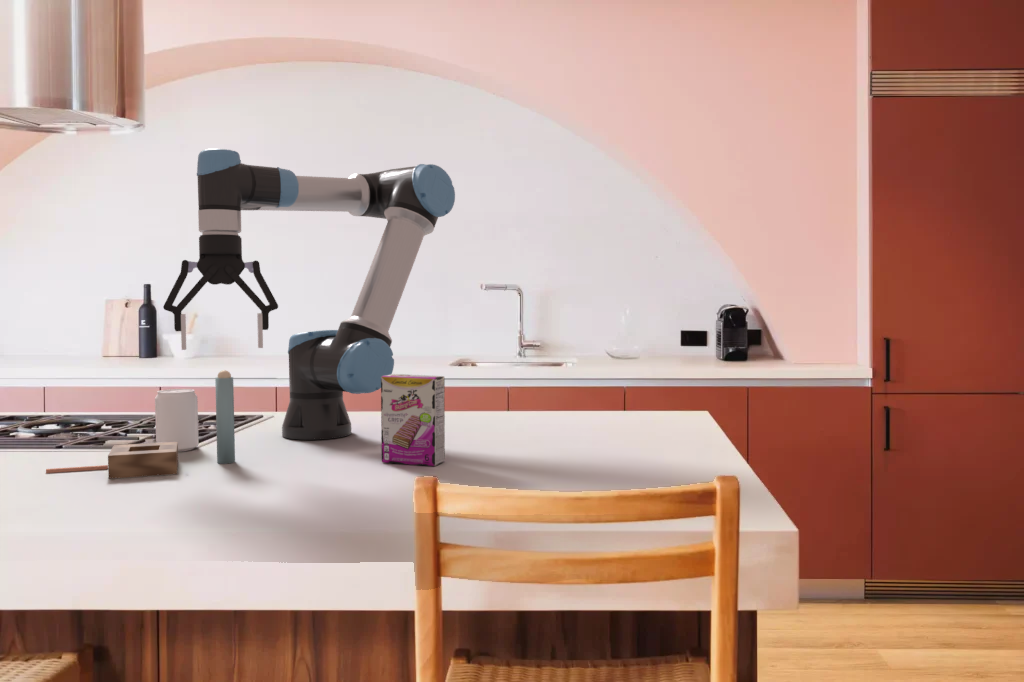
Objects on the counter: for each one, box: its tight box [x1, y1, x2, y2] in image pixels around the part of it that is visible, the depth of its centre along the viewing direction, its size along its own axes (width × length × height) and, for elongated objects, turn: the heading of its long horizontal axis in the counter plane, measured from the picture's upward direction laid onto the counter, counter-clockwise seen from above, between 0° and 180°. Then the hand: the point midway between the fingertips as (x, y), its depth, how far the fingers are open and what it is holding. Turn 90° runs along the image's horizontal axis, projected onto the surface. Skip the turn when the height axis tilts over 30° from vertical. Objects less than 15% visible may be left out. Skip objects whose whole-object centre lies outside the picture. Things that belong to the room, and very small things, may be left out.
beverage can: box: [154, 388, 199, 453], centre depth 181 cm, size 8×8×12 cm
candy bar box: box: [380, 373, 446, 467], centre depth 165 cm, size 11×5×16 cm, turn 71°
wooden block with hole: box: [107, 442, 179, 480], centre depth 160 cm, size 11×11×4 cm
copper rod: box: [45, 464, 108, 474], centre depth 160 cm, size 10×1×1 cm, turn 109°
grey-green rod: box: [214, 369, 236, 465], centre depth 167 cm, size 3×3×17 cm
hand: (222, 348), depth 166 cm, fingers open, 13 cm apart
